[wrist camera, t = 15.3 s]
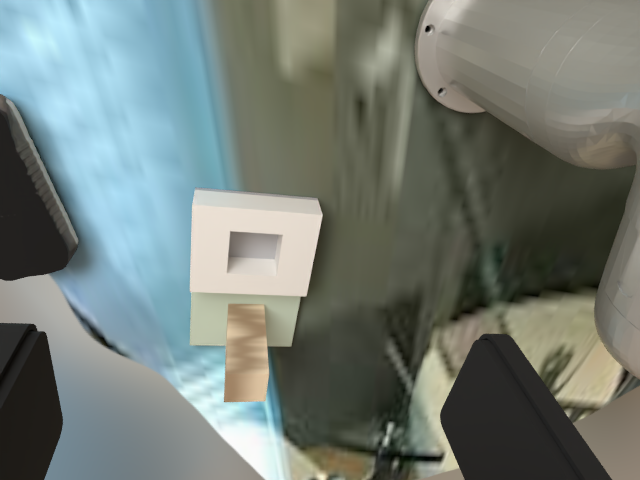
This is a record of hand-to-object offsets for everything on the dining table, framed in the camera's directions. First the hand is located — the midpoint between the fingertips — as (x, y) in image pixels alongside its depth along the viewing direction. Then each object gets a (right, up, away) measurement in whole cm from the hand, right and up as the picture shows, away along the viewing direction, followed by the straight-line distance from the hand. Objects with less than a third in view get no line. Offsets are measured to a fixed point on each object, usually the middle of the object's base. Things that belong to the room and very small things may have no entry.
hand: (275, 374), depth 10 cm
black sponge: (-27, +8, +30) cm, 42 cm away
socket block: (-6, +3, +37) cm, 37 cm away
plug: (-8, -6, +41) cm, 42 cm away
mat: (-8, -5, +42) cm, 43 cm away
